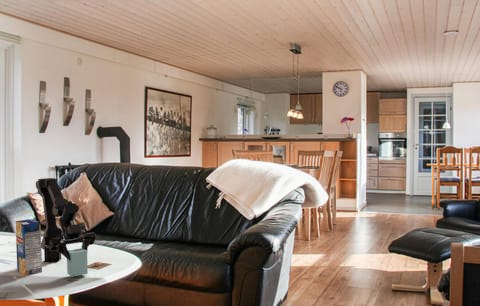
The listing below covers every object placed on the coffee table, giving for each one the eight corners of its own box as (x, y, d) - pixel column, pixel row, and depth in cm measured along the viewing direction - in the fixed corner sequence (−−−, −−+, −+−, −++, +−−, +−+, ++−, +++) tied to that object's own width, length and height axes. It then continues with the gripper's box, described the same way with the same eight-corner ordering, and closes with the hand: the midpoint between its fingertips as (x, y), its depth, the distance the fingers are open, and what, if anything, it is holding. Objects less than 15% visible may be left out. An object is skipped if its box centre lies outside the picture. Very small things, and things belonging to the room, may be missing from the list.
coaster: (82, 268, 214) (82, 267, 214) (96, 263, 222) (96, 262, 222) (98, 270, 210) (98, 269, 210) (112, 265, 218) (112, 264, 218)
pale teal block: (67, 273, 201) (66, 250, 200) (82, 270, 205) (82, 248, 205) (72, 276, 197) (71, 253, 196) (87, 273, 201) (87, 250, 200)
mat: (61, 277, 202) (61, 276, 202) (85, 272, 208) (85, 271, 208) (69, 283, 194) (69, 282, 194) (93, 278, 200) (93, 277, 200)
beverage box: (25, 276, 204) (23, 224, 203) (17, 270, 212) (15, 220, 211) (42, 272, 208) (40, 222, 207) (33, 267, 216) (31, 218, 215)
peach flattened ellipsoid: (93, 266, 215) (93, 263, 214) (95, 264, 218) (95, 261, 217) (100, 266, 215) (100, 263, 215) (101, 264, 218) (101, 261, 218)
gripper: (49, 219, 197) (59, 251, 189) (94, 213, 208) (105, 243, 200) (44, 235, 204) (53, 266, 195) (87, 228, 215) (98, 258, 207)
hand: (78, 258), depth 199 cm, fingers closed on pale teal block, 6 cm apart
